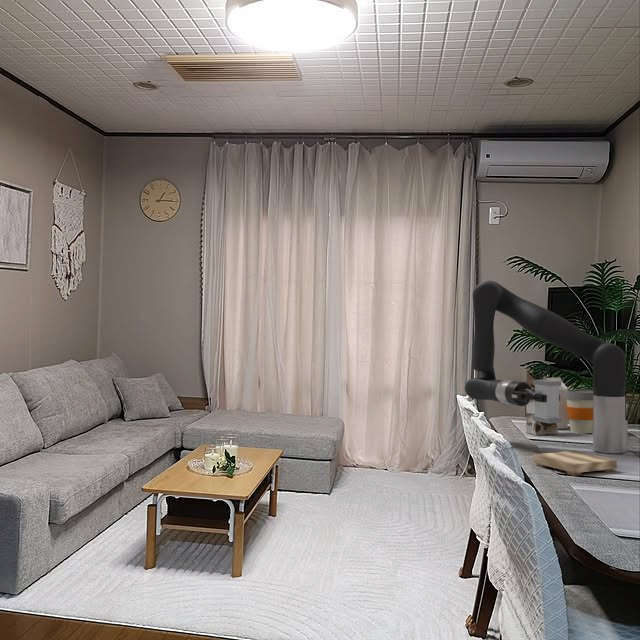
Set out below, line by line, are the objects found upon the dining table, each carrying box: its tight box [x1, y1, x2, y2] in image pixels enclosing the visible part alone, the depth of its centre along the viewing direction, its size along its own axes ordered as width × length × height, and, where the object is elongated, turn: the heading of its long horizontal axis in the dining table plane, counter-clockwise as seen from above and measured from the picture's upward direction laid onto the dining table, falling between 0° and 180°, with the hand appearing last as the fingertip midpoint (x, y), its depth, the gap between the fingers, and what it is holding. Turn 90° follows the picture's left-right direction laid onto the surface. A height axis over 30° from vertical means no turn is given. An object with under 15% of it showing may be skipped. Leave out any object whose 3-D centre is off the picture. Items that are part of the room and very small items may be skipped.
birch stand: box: [533, 450, 618, 477], centre depth 187 cm, size 15×15×3 cm
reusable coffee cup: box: [566, 388, 593, 434], centre depth 251 cm, size 13×13×15 cm
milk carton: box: [546, 377, 569, 430], centre depth 261 cm, size 7×7×19 cm
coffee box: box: [525, 402, 558, 436], centre depth 247 cm, size 9×6×16 cm
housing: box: [532, 379, 562, 424], centre depth 202 cm, size 4×7×12 cm, turn 24°
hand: (552, 398), depth 200 cm, fingers closed on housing, 4 cm apart
